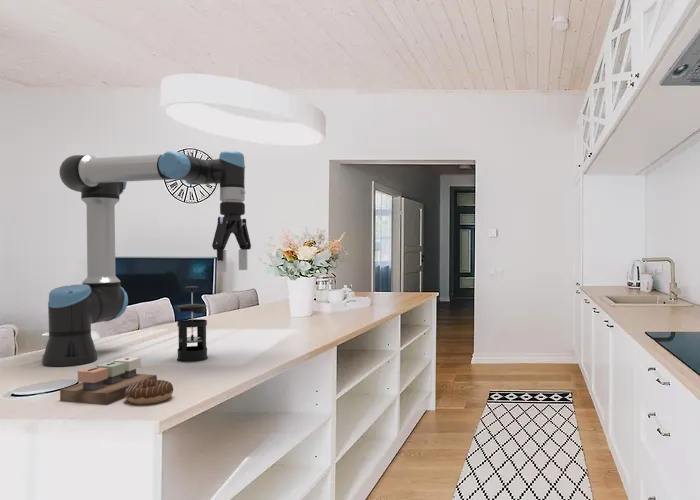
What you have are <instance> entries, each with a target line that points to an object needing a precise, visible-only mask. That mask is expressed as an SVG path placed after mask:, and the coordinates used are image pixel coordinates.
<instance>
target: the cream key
mask: <svg viewBox="0 0 700 500" xmlns="http://www.w3.org/2000/svg"><path fill="white" fill-rule="evenodd" d="M113 362H119V363H125V371H131V370H134V369H136V370H137V369H140V368H141V365H142V364H141V357H132V356H131V357H129V356H125V357H120V358H118V359H114V360H113Z"/></svg>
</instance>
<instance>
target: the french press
mask: <svg viewBox="0 0 700 500" xmlns="http://www.w3.org/2000/svg"><path fill="white" fill-rule="evenodd" d="M184 289H189V290H190V294H191V301H190V303H187V304H186V303H185V304H181V305H177V309H178V314H180V313H185V312H191V319H182V320H178V321H177V323H176V324H177V325H176V326H177V327H178V348H177V358H176V361H177V362H181V363H195V362H196V363H197V362H203V361H206V360H208V358H209V357H208V348H207V325H208V320H207V319H204V318H203V319H199V318H197V319H196V318H194V314H204V313H206V307H207V305H208V304H200V303H194V301H193V299H194V296H193V294H194V289H199V286H196V285H190V286H185V287H184ZM188 328H191V335H190V336H188ZM194 328H196V329H197V331H196V335H197V336H194ZM194 343H197V344H196V345H190V346H188V344H194Z"/></svg>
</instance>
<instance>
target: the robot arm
mask: <svg viewBox="0 0 700 500" xmlns="http://www.w3.org/2000/svg"><path fill="white" fill-rule="evenodd" d="M245 171H246V166H245V156H244V154H243V153H242V152H240V151H235V150H225V151H221V152H220V153H219V157H218V158H215V159H203V158H200V157H195V156H192V155H189V154H185V153H183V152H180V151H174V150H169V151H166V152H164V153H163V154H160V153H159V154H144V155H126V156H125V155H124V156H108V157H106V156H105V157H96V156H94V155H91V154H85V155H84V154H83V155H80V154H75V155H74V154H73V155H70V156H68V157H67V158H65V159H64V160H63V161H62V163H61V165H60V167H59V173H58V174H59V177H60V180H61V182H62V183H63V184H64V185H65V186H66V187H67V188H68V189H70V190H71V191H75V192H78V193H81V197H80V199H81V201H82V202H83V203H84V204H85V206H86V258H87V259H86V261H87V262H86V264H87V265H86V269H87V271H86V272H87V274H86V275H87V276H86V278H85V279H84V280H83V281H82V282H81V283H82V284H71V285H64V286H63V285H62V286H59V287H56V288H53V289H52V290H50V292H49V293H48V302H47V306H48V307H47V309H48V311H47V312H48V339H47V342H46V346H45V349H44V354H42V357H41V358H42V365H44V366H47V367H68V366H69V367H70V366H77V365H78V366H79V365H85V364H88V363H93V362H95V361H97V360H98V350H97V349H96V346H95V343H94V340H93V337H92V325H93V324H96V323H97V324H98V323H102V322H110V321H113V320H115V319H118V318H120V317H121V316H122V315H124V313H125V311H126V310H127V308H128V304H129V297H128V293H127V291H125V289H124V288H123V287H122V286H121V280H120V279H119V278H118V277H117V275H116V221H115V219H116V213H115V212H116V211H115V210H116V209H115V206H116V205H117V204H118V202H120V195H122V194H123V193H124V190H126V187H127V182H144V181H147V182H148V181H164V180H165V181H170V180H171V181H172V180H173V181H175V180H179V181H185V182H186V184H188V185H197V186H201V185H210V184H211V185H214V184H218V185H219V201H220V203H219V214H220V215H221V216H218V217H217V225H216V229H215V232H214V237H213V240H212V244H211V247H212V250H213V251H216V272H217V273H222V272H223V273H227V249H225V248H226V246H227V244H228V241H229V239H230V236H231V234H234V236H235V239H236V242H237V244H238V246H239V249H238V270H239V271H248V250H251V249H252V248H251V247H252V243H251V239H250V235H249V231H248V227H247V218H242V216H244V215H245V214H246V205H245V198H246V197H245V196H246V195H245V194H246V191H245V178H246V177H245Z"/></svg>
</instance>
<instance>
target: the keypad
mask: <svg viewBox="0 0 700 500" xmlns="http://www.w3.org/2000/svg"><path fill="white" fill-rule="evenodd" d="M148 379H149V380H158V375H157V374H149V373H147V374H145V373H137V369H134V370H131V371H125V373H122V374H119V375H116V376H113V377H108V378H107V379H105V380H102V381H99V382H96V383H88V382H78V383H77V384H73V385H70V386H67V387H64V388H61V389H60V390H59V396H60V397H59V398H60V399H59V400H60V402H61V401H62V402H63V401H64V402H74V403H85V404H86V403H87V404H95V405H96V404H98V405H106V406H107V405H110V404H112V403H116V402H118V401H120V400H122V399H126V397H125V395H124V394H125V391H126V389H127V388H128V387H129V386H130V385H132V384H134V383H136V382H139V381H142V380H148Z"/></svg>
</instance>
